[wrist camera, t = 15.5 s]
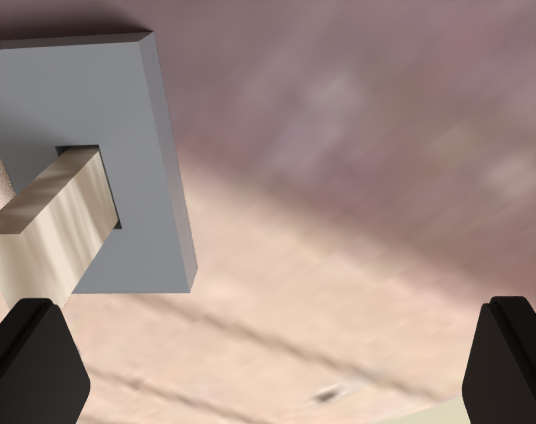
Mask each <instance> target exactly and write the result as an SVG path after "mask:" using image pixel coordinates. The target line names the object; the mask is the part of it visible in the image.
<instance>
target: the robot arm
mask: <svg viewBox="0 0 536 424" xmlns="http://www.w3.org/2000/svg"><path fill="white" fill-rule="evenodd" d="M89 392H90V379H89V377H88V374H87V372H86V370H85V367H84V365H83V362H82V360H81V357H80V355H79V353H78V350H77V348H76V345H75V343H74V341H73V338H72V336H71V333H70V331H69V329H68V326H67V324H66V321H65V319H64V316H63V314H62V312H61V309H60V307H59V306H58V305H57V304H54V303H53V301H52V300H51V299H49V298H22V299H20V300H19V301H18V302H17V303H16V304H15V305H14V307H13V308H12V309H11V310H10V312H9V313H8V314H7V316H6V317H5V318H4V319H3V321H2V322H1V323H0V424H76V422H77V419H78V417H79V415H80V413H81V411H82V409H83V406H84V404H85V402H86V400H87V398H88V395H89ZM462 396H463V401H464V404H465V407H466V410H467V413H468V416H469V419H470V422H471V424H536V313H535V312H534V310H533V308H532V307H531V305H530V303H529V302H528V301H527V299H526V298H525V297H523V296H495V297H492V298H491V300H490V303H484V304H483V305H482V307H481V311H480V315H479V319H478V323H477V327H476V331H475V335H474V339H473V343H472V347H471V351H470V355H469V359H468V364H467V368H466V372H465V376H464V380H463V384H462Z"/></svg>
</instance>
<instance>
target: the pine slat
mask: <svg viewBox="0 0 536 424" xmlns="http://www.w3.org/2000/svg"><path fill="white" fill-rule="evenodd" d="M118 220H119V215H118V212H117V208H116V205H115V201H114V198H113V194H112V190H111V187H110V183H109V180H108V176H107V173H106V169H105V166H104V162H103V158H102V155H101V151H100V148H99V144H98V145H71V146H70V147H69V148H68V149H67V150H66V151H65V152H64V153H62V154H61V155H60V156H59V157H58V158H57V159H56V160H55V161H54V162H53V163H51V164H50V165H49V166H48V167H47V168H46V169H45V170H44V171H43V172H42V173H41V174H39V175H38V176H37V177H36V178H35V179H34V180H33V181H32V182H31V183H30V184H28V185H27V186H26V187H25V188H24V189H23V190H22V191H21V192H20V193H19V194H17V195H16V196H15V197H14V198H13V199H12V200H11V201H10V202H9V203H8V204H6V205H5V206H4V207H3V208H2V209H1V210H0V291H1V293H2V295H3V297H4V299H5V301H6V303H7V305H8V307H9V309H10V310H11V309H12V308H13V307H14V305H15V304H16V303H17V302H18V301H19V300H20V299H22V298H49V299H51V300H52V301H53V303H54V304H57V305H58V306H59V307H60V309H61V308H62V307H63V305H64V304H65V302H66V301H67V299H68V298H69V296H70V294H71V293H72V291H73V290H74V288H75V287H76V285H77V284H78V282H79V281H80V279H81V277H82V276H83V274H84V273H85V271H86V270H87V268H88V267H89V265H90V263H91V262H92V260H93V259H94V257H95V256H96V254H97V253H98V251H99V250H100V248H101V246H102V245H103V243H104V242H105V240H106V239H107V237H108V236H109V234H110V233H111V231H112V229H113V228H114V226H115V225H116V223H117V222H118Z"/></svg>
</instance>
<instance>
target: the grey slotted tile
mask: <svg viewBox="0 0 536 424" xmlns="http://www.w3.org/2000/svg"><path fill="white" fill-rule="evenodd" d="M98 144H99V148H100V151H101V155H102V158H103V162H104V166H105V169H106V173H107V176H108V180H109V183H110V187H111V190H112V194H113V198H114V201H115V205H116V208H117V212H118V215H119V220H118V222H117V223H116V225H115V226H114V228H113V229H112V231H111V233H110V234H109V236H108V237H107V239H106V240H105V242H104V243H103V245H102V246H101V248H100V250H99V251H98V253H97V254H96V256H95V257H94V259H93V260H92V262H91V263H90V265H89V267H88V268H87V270H86V271H85V273H84V274H83V276H82V277H81V279H80V281H79V282H78V284H77V285H76V287H75V288H74V290H73V291H72V293H71V294H96V293H190V291H191V288H192V285H193V282H194V278H195V275H196V272H197V269H198V266H197V261H196V255H195V250H194V245H193V239H192V234H191V229H190V223H189V218H188V212H187V207H186V202H185V196H184V191H183V186H182V180H181V175H180V170H179V164H178V159H177V153H176V148H175V143H174V137H173V132H172V127H171V121H170V116H169V111H168V105H167V100H166V94H165V89H164V84H163V78H162V73H161V68H160V62H159V57H158V51H157V46H156V41H155V35H154V32H138V33H121V34H104V35H87V36H70V37H53V38H36V39H19V40H2V41H0V157H1V159H2V162H3V164H4V167H5V169H6V172H7V174H8V176H9V179H10V181H11V184H12V186H13V189H14V191H15V193H16V195H17V194H19V193H20V192H21V191H22V190H23V189H24V188H25V187H26V186H27V185H28V184H30V183H31V182H32V181H33V180H34V179H35V178H36V177H37V176H38V175H39V174H41V173H42V172H43V171H44V170H45V169H46V168H47V167H48V166H49V165H50V164H51V163H53V162H54V161H55V160H56V159H57V158H58V157H59V156H60V155H61V154H62V153H64V152H65V151H66V150H67V149H68V148H69V147H70V146H71V145H98Z"/></svg>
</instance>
